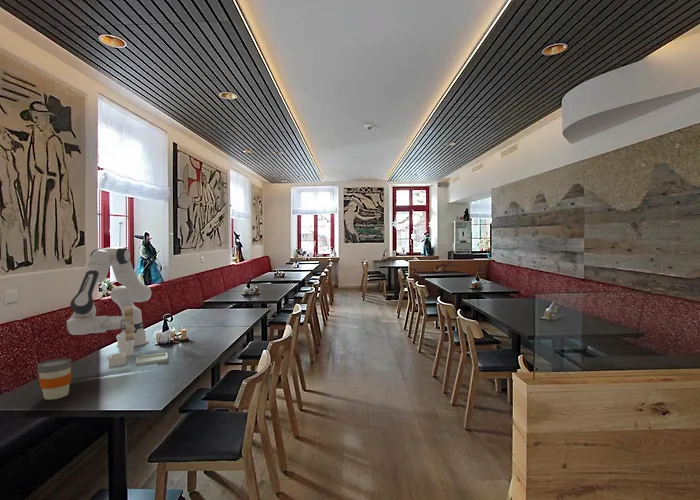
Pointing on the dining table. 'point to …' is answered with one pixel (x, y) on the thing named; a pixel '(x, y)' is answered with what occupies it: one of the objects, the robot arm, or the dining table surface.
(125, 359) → the white square container
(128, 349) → the foam cup
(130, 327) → the tan wooden block
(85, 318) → the robot arm
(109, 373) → the dining table surface
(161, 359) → the tray
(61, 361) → the reusable coffee cup
